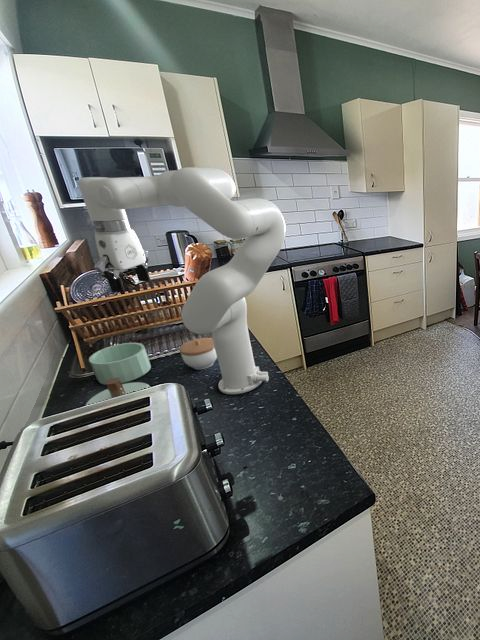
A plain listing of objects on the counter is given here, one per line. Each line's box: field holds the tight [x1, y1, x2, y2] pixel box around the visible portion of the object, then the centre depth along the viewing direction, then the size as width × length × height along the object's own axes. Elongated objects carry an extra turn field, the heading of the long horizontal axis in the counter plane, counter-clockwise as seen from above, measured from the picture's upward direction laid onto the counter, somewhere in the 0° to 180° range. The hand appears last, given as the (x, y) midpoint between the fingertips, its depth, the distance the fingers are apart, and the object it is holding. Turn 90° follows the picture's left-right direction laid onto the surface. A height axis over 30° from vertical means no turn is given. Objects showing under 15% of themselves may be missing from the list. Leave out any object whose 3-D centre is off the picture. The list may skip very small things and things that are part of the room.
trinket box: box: [178, 337, 218, 371], centre depth 117 cm, size 11×11×9 cm
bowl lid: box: [85, 378, 151, 406], centre depth 99 cm, size 15×15×7 cm
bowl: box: [88, 342, 152, 385], centre depth 112 cm, size 14×14×8 cm
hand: (132, 286), depth 101 cm, fingers open, 9 cm apart
